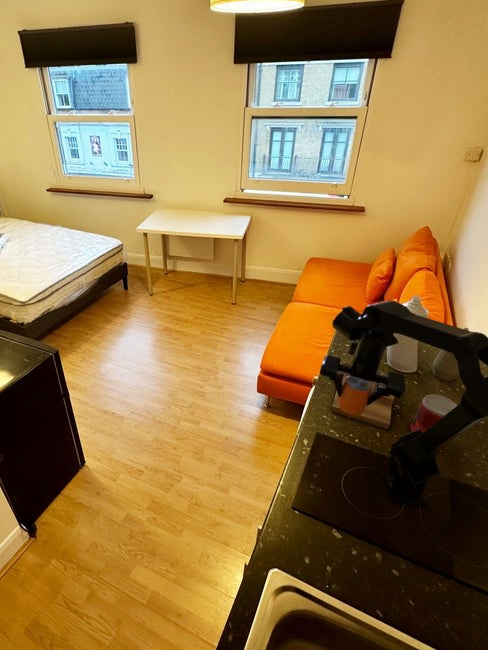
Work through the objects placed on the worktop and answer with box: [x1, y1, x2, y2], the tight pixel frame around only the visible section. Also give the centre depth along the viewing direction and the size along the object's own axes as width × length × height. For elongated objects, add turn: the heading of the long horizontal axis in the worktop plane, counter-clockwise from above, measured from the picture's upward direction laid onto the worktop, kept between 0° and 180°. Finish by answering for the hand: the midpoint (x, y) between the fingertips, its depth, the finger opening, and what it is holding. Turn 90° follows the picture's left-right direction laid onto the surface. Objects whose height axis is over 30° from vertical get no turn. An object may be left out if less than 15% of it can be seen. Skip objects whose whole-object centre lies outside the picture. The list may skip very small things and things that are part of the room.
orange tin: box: [338, 376, 373, 415], centre depth 95 cm, size 6×6×8 cm
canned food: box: [410, 394, 458, 433], centre depth 98 cm, size 8×8×11 cm
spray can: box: [386, 295, 430, 373], centre depth 119 cm, size 12×11×25 cm
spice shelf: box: [330, 361, 395, 430], centre depth 110 cm, size 18×15×6 cm
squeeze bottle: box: [432, 327, 470, 382], centre depth 116 cm, size 8×8×18 cm
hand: (353, 400), depth 96 cm, fingers closed on orange tin, 6 cm apart
